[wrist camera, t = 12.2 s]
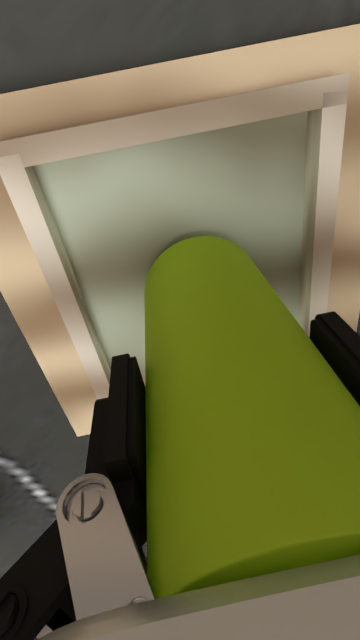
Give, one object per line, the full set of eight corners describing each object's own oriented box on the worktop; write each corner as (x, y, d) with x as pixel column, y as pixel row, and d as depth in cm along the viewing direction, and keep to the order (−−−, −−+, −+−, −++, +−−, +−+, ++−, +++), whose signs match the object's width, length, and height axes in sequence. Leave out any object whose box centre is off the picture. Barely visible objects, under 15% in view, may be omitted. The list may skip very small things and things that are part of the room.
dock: (328, 354, 27) (360, 395, 23) (82, 405, 26) (74, 454, 23) (363, 29, 16) (437, 4, 12) (-57, 111, 15) (-119, 113, 12)
